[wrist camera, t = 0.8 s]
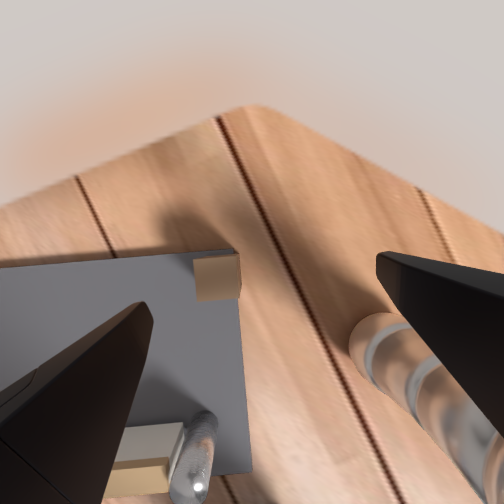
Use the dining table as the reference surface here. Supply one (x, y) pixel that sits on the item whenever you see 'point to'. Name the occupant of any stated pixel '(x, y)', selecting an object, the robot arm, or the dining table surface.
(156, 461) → the panel
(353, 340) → the plastic bottle
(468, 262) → the dining table surface
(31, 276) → the mat
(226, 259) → the stop block
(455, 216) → the dining table surface
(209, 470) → the hinge post
